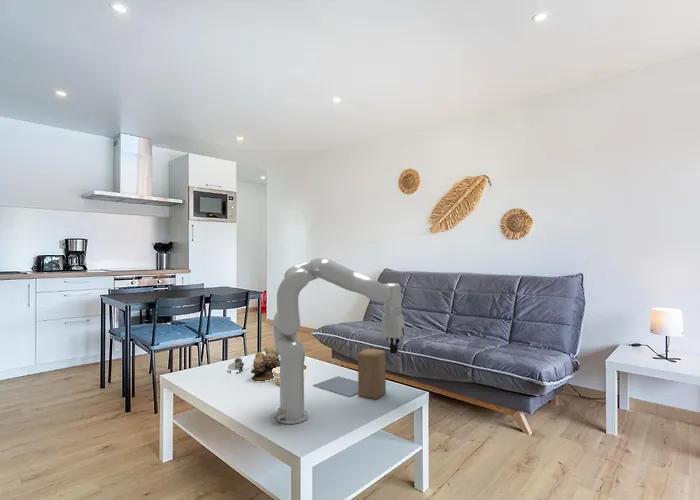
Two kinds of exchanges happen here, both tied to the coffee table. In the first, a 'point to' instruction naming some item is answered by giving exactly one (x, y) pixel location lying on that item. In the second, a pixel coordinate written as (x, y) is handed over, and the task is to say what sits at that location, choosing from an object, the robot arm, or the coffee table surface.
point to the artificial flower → (236, 364)
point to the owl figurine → (265, 364)
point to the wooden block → (371, 373)
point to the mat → (340, 386)
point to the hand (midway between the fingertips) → (394, 352)
